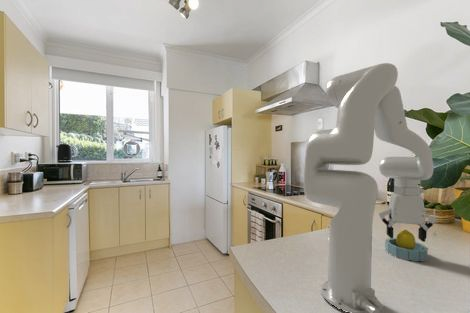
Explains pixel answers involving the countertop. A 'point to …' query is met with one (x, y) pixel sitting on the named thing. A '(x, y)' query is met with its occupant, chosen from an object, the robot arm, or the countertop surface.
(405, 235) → the lemon
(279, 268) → the countertop surface
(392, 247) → the bowl
